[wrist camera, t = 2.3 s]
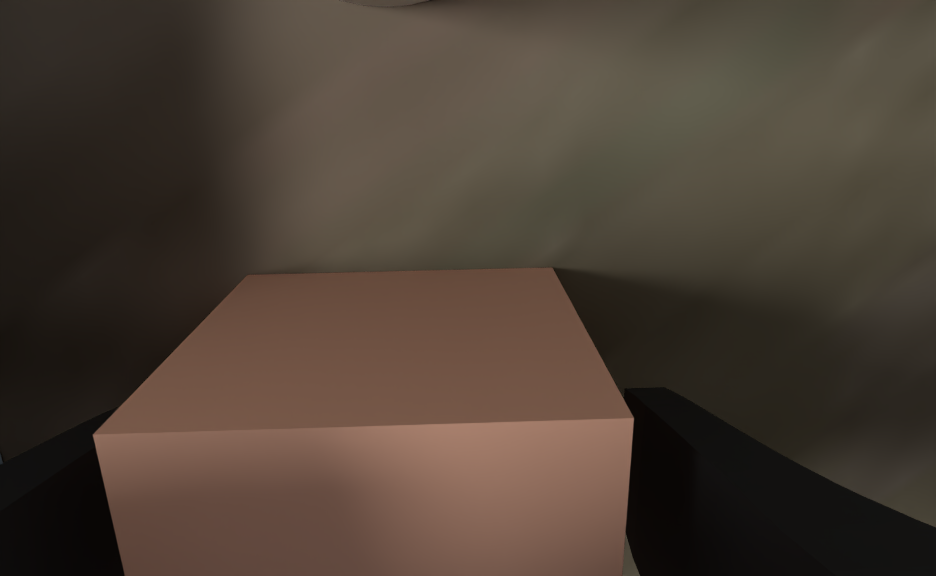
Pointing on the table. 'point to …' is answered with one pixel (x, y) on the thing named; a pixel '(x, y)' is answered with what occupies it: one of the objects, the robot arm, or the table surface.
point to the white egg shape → (384, 2)
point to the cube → (375, 434)
